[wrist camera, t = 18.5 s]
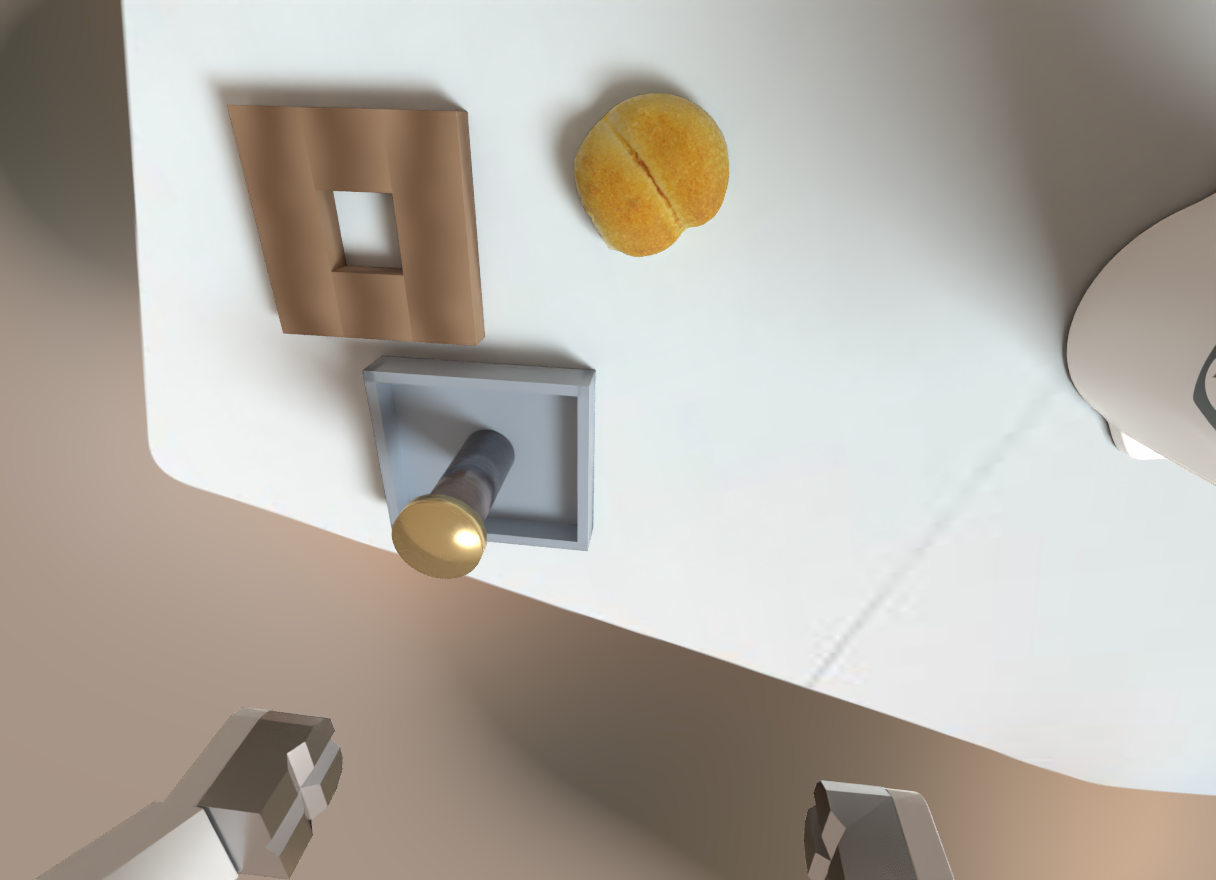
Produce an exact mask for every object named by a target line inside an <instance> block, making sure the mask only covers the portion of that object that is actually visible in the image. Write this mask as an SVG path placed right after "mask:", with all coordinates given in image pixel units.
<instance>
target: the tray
mask: <svg viewBox="0 0 1216 880" xmlns="http://www.w3.org/2000/svg"><path fill="white" fill-rule="evenodd" d="M363 377H364V382H365V387H366V393H367V398H368V404H369V409H370V414H371V420H372V425H373V431H374V436H375V441H376V447H377V452H378V458H379V463H380V468H381V474H382V479H383V484H384V490H385V495H386V501H387V506H388V511H389V517H390V522H391V528H392V527H393V524H394V522H395V520H396V518H397V517H398V516H399V514H400V513H401V511H402V510H403V509H404V507H405V506H406V505H407V504H408V503H409V502H410V501H411V500H413V499H415V498H416V497H419V496H422V495H426V494H430V493H431V491H432V490H433V488H434V487H435V485H436V484H437V482H438V481H439V479H440V478H441V476H442V475H443V474H444V472H445V471H446V469H447V468H448V466H449V465H450V463H451V462H452V460H453V459H454V457H455V456H456V454H457V453H458V451H459V450H460V449H461V447H462V446H463V444H464V443H465V441H466V440H467V438H468V437H469V436H470V435H471V434H472V433H474V432H476V431H479V430H493V431H496V432H498V433H500V434H502V435H503V436H505V437H506V438H507V439H508V440H509V441H510V443H511V444H512V446H513V448H514V452H515V459H514V463H513V465H512V467H511V469H510V471H509V473H508V475H507V477H506V479H505V481H504V483H503V485H502V487H501V489H500V491H499V493H498V495H497V497H496V499H495V501H494V503H493V505H492V507H491V509H490V511H489V513H488V515H487V517H486V519H485V521H484V525H485V528H486V531H487V541H488V542H498V543H509V544H519V545H529V546H540V547H550V548H561V549H571V550H581V551H588V547H589V543H590V539H591V534H592V530H593V493H594V429H595V370H584V369H569V368H554V367H539V366H524V365H509V364H494V363H480V362H465V361H450V360H435V359H420V358H405V357H390V356H381V357H380V358H379V359H377V360H376V361H375V362H373V363H372V364H371V365H369V366H368V367H367V368H365V369H364V370H363Z"/></svg>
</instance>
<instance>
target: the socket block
mask: <svg viewBox="0 0 1216 880" xmlns="http://www.w3.org/2000/svg"><path fill="white" fill-rule="evenodd" d="M227 106H228V110H229V114H230V119H231V123H232V127H233V131H234V135H235V139H236V143H237V147H238V151H239V155H240V159H241V163H242V167H243V171H244V175H245V180H246V184H247V188H248V192H249V196H250V200H251V204H252V208H253V212H254V216H255V220H256V224H257V228H258V232H259V237H260V241H261V245H262V249H263V253H264V257H265V261H266V265H267V269H268V273H269V277H270V281H271V285H272V289H273V293H274V298H275V302H276V306H277V310H278V314H279V318H280V322H281V326H282V330H283V333H286V334H302V335H317V336H333V337H348V338H364V339H379V340H395V341H411V342H426V343H442V344H457V345H473V346H476V345H477V344H478V343H479V342H480V341H481V340H482V339H483V338H484V337H485V332H484V320H483V307H482V294H481V281H480V268H479V255H478V242H477V229H476V216H475V204H474V191H473V178H472V165H471V152H470V139H469V126H468V113H467V112H462V111H434V110H396V109H358V108H321V107H283V106H245V105H227ZM333 191H351V192H375V193H392V196H393V203H394V210H395V217H396V225H397V232H398V239H399V246H400V254H401V261H402V268H384V267H365V266H346V260H345V255H344V249H343V244H342V238H341V233H340V227H339V222H338V216H337V211H336V206H335V200H334V195H333Z"/></svg>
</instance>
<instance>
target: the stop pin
mask: <svg viewBox="0 0 1216 880" xmlns="http://www.w3.org/2000/svg"><path fill="white" fill-rule="evenodd" d="M514 459H515V452H514V448H513V446H512V444H511V443H510V441H509V440H508V439H507V438H506V437H505V436H503V435H502V434H500V433H498V432H496V431H493V430H479V431H476V432H474V433H472V434H471V435H470V436H469V437H468V438H467V440H466V441H465V443H464V444H463V446H462V447H461V449H460V450H459V451H458V453H457V454H456V456H455V457H454V459H453V460H452V462H451V463H450V465H449V466H448V468H447V469H446V471H445V472H444V474H443V475H442V476H441V478H440V479H439V481H438V482H437V484H436V485H435V487H434V488H433V490H432V491H431V493H430V494H426V495H422V496H419V497H416V498H415V499H413V500H411V501H410V502H409V503H408V504H407V505H406V506H405V507H404V509H403V510H402V511H401V513H400V514H399V516H398V517H397V518H396V520H395V522H394V524H393V527H392V540H393V544H394V546H395V549H396V550H397V552H398V554H399V555H400V556H401V558H402V559H403V560H404V561H405V562H406V563H408V564H409V565H410V566H411V567H412V568H414V569H415V570H417V571H419V572H421V573H423V574H426V575H428V576H431V577H436V578H442V579H451V578H457V577H461V576H464V575H466V574H468V573H469V572H471V571H472V570H473V569H474V568H475V567H476V566H477V565H478V563H479V561H480V559H481V557H482V554H483V552H484V550H485V548H486V545H487V531H486V528H485V525H484V521H485V519H486V517H487V515H488V513H489V511H490V509H491V507H492V505H493V503H494V501H495V499H496V497H497V495H498V493H499V491H500V489H501V487H502V485H503V483H504V481H505V479H506V477H507V475H508V473H509V471H510V469H511V467H512V465H513V463H514Z"/></svg>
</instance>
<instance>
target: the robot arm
mask: <svg viewBox="0 0 1216 880" xmlns="http://www.w3.org/2000/svg"><path fill="white" fill-rule="evenodd" d="M1067 362H1068V369H1069V372H1070V376H1071V379H1072V381H1073V383H1074V385H1075V387H1076V389H1077V391H1078V392H1079V394H1080V395H1081V396H1082V397H1083V399H1084V400H1085V401H1086V402H1087V403H1088V404H1089V405H1091V406H1092V407H1093V408H1094V409H1095V410H1097V411H1098V412H1099V413H1100V414H1101V415H1102V416H1103V417H1104V418H1105V419H1106V420H1107V422H1108V423H1109V427H1110V431H1111V434H1112V438H1113V441H1114V443H1115V445H1116V447H1117V448H1118V450H1119V451H1121V452H1122V453H1124V454H1126V455H1128V456H1130V457H1131V458H1133V459H1138V460H1147V459H1160V458H1166V459H1168V460H1170V461H1172V462H1173V463H1175V464H1177V465H1179V466H1181V467H1182V468H1184V469H1186V470H1188V471H1190V472H1191V473H1193V474H1195V475H1197V476H1199V477H1200V478H1202V479H1204V480H1206V481H1208V482H1209V483H1211V484H1213V485H1215V486H1216V193H1214V194H1213V195H1211V196H1209V197H1207V198H1205V199H1203V200H1202V201H1200V202H1197V203H1195V204H1193V205H1191V206H1189V207H1187V208H1185V209H1183V210H1181V211H1178V212H1176V213H1174V214H1172V215H1171V216H1169V217H1167V218H1165V219H1163V220H1162V221H1160V222H1158V223H1157V224H1155V225H1153V226H1152V227H1150V228H1149V229H1147V230H1146V231H1144V232H1143V233H1142V234H1140V235H1139V236H1138V237H1136V238H1135V239H1134V240H1132V241H1131V242H1130V243H1129V244H1128V245H1126V246H1125V247H1124V248H1123V249H1122V250H1121V251H1120V252H1119V253H1118V254H1117V255H1115V256H1114V258H1113V259H1112V260H1111V261H1110V262H1109V263H1108V264H1107V265H1106V266H1105V267H1104V268H1103V269H1102V271H1101V272H1100V273H1099V274H1098V276H1097V277H1096V278H1095V279H1094V281H1093V282H1092V284H1091V285H1090V287H1089V288H1088V290H1087V291H1086V293H1085V295H1084V296H1083V298H1082V300H1081V302H1080V304H1079V306H1078V308H1077V310H1076V313H1075V315H1074V318H1073V320H1072V324H1071V327H1070V331H1069V336H1068V342H1067ZM334 732H335V729H334V727H333V724H332V722H331V719H330V718H323V717H315V716H307V715H299V714H292V713H284V712H277V711H273V710H265V709H257V708H248V707H242V708H240V709H239V710H238V711H236V712H235V713H234V714H232V715H231V716H230V717H229V719H228V720H227V721H226V723H225V724H224V725H223V726H222V728H221V729H220V730H219V731H218V733H217V734H216V735H215V737H214V738H213V739H212V740H211V742H210V743H209V744H208V746H207V747H206V748H205V749H204V751H203V752H202V753H201V755H200V756H199V757H198V758H197V760H196V761H195V762H194V763H193V765H192V766H191V767H190V769H189V770H188V771H187V772H186V774H185V775H184V776H183V778H182V779H181V780H180V782H179V783H178V784H177V785H176V787H175V788H174V789H173V791H172V792H171V793H170V794H169V796H168V797H167V798H166V800H165V801H164V802H159V801H155V802H153V803H151V804H150V805H148V806H147V807H145V808H143V809H142V810H140V811H139V812H137V813H136V814H134V815H133V816H131V817H130V818H128V819H126V820H125V821H123V822H122V823H120V824H119V825H117V826H116V827H114V828H113V829H111V830H110V831H108V832H106V833H105V834H103V835H102V836H100V837H99V838H97V839H96V840H94V841H92V842H91V843H89V844H88V845H87V846H85V847H83V848H82V849H80V850H79V851H77V852H75V853H74V854H72V855H71V856H69V857H68V858H66V859H65V860H63V861H62V862H60V863H59V864H57V865H55V866H54V867H52V868H51V869H49V870H48V871H46V872H45V873H43V874H42V875H40V876H38V877H37V878H35V879H34V880H236V879H237V878H238V874H237V873H239V874H248V875H256V876H264V877H272V878H281V879H290V877H291V875H292V873H293V871H294V870H295V868H296V866H297V864H298V862H299V860H300V858H301V856H302V854H303V853H304V851H305V849H306V847H307V845H308V843H309V841H310V839H311V838H312V836H313V832H312V819H313V818H314V817H315V816H317V815H318V814H319V813H320V812H322V811H323V810H324V809H326V808H327V807H328V805H329V803H330V801H331V799H332V797H333V795H334V794H335V792H336V789H337V787H338V783H339V780H340V776H341V773H342V765H343V757H342V753H341V749H340V747H339V746H338V745H337V744H335V743H334V742H333V741H332V740H331V737H332V735H333V734H334ZM813 794H814V799H815V806H813V807H811V808H809V809H808V811H807V815H806V819H805V824H804V851H805V860H806V866H807V873H808V876H809V877H810V879H811V880H955V879H954V876H953V874H952V871H951V868H950V865H949V863H948V860H947V857H946V854H945V851H944V849H943V846H942V843H941V840H940V838H939V835H938V832H937V829H936V827H935V824H934V821H933V818H932V816H931V813H930V810H929V808H928V805H927V802H926V801H925V799H924V798H923V797H922V795H921V794H919V793H917V792H914V791H905V790H896V789H888V788H883V787H877V786H867V785H859V784H850V783H840V782H831V781H822V780H821V781H819V782H818V783H816V786H815V789H814V792H813Z"/></svg>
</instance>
